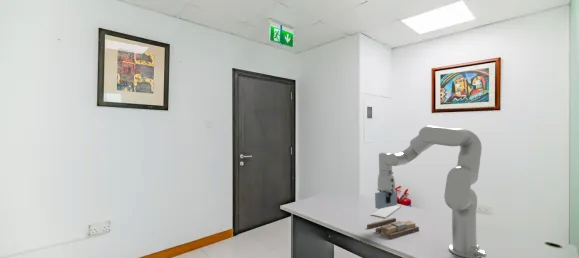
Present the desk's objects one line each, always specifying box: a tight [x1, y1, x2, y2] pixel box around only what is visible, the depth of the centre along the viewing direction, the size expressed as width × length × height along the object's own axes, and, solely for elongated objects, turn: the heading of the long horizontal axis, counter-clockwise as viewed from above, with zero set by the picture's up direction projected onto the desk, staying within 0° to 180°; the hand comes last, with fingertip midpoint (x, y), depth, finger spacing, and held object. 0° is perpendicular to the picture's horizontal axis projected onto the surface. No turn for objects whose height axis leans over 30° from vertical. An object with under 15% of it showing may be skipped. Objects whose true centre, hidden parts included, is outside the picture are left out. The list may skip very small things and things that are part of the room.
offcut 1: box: [380, 223, 397, 238], centre depth 139 cm, size 5×7×4 cm
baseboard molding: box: [370, 204, 401, 219], centre depth 179 cm, size 31×3×12 cm
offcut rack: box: [366, 217, 420, 240], centre depth 146 cm, size 18×24×2 cm
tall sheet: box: [374, 189, 398, 210], centre depth 150 cm, size 2×16×9 cm, turn 117°
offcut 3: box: [403, 220, 416, 229], centre depth 146 cm, size 5×7×4 cm
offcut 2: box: [390, 220, 406, 232], centre depth 142 cm, size 5×7×5 cm
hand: (386, 202), depth 150 cm, fingers closed on tall sheet, 2 cm apart
